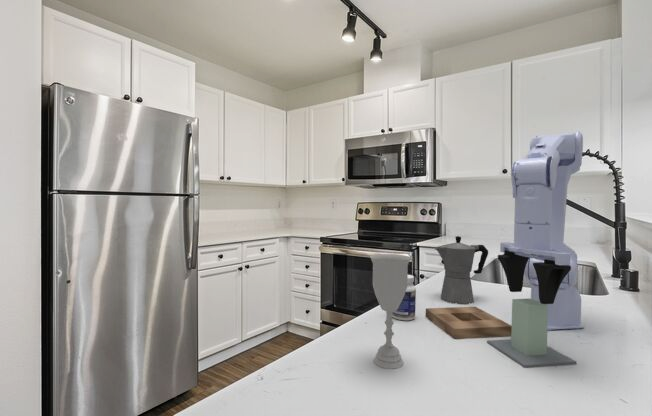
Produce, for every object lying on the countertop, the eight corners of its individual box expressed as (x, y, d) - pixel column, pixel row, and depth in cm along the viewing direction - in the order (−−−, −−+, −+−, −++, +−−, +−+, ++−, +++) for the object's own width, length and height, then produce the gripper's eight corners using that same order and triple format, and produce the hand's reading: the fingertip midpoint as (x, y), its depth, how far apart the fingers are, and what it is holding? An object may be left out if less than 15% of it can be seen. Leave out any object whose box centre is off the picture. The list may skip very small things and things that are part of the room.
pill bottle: (416, 322, 77) (416, 279, 77) (390, 320, 78) (391, 277, 78) (414, 314, 83) (415, 273, 82) (390, 312, 84) (391, 272, 84)
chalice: (400, 376, 53) (402, 262, 53) (361, 364, 57) (362, 258, 56) (414, 358, 59) (416, 256, 59) (378, 348, 63) (380, 252, 62)
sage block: (529, 345, 64) (531, 298, 64) (546, 354, 60) (548, 304, 60) (511, 346, 64) (512, 299, 64) (526, 355, 60) (528, 305, 60)
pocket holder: (475, 314, 83) (475, 306, 83) (512, 335, 70) (512, 326, 70) (425, 316, 81) (425, 308, 81) (454, 338, 68) (454, 328, 68)
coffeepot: (440, 304, 90) (442, 238, 90) (428, 294, 100) (429, 234, 99) (496, 304, 91) (497, 238, 91) (478, 294, 101) (479, 234, 100)
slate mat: (532, 340, 68) (532, 338, 68) (576, 363, 58) (576, 361, 58) (486, 342, 66) (487, 340, 66) (524, 367, 56) (524, 365, 56)
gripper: (487, 220, 68) (485, 287, 68) (544, 226, 54) (541, 310, 54) (518, 220, 69) (516, 286, 70) (582, 226, 55) (580, 309, 55)
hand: (530, 297), depth 62 cm, fingers open, 7 cm apart
